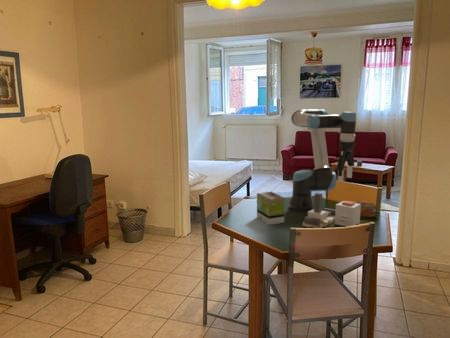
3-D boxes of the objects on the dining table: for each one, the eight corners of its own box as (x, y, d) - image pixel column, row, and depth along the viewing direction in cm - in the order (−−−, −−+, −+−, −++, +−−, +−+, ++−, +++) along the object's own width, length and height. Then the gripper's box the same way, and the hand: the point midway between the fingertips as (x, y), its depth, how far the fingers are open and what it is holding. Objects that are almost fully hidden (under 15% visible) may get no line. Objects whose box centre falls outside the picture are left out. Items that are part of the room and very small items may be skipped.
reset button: (341, 207, 211) (342, 202, 210) (345, 205, 215) (345, 200, 214) (350, 209, 208) (351, 203, 207) (354, 207, 211) (354, 202, 211)
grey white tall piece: (321, 223, 206) (322, 196, 203) (307, 220, 211) (308, 193, 208) (327, 220, 211) (328, 193, 208) (313, 217, 216) (314, 191, 213)
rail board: (319, 229, 203) (320, 220, 202) (302, 225, 209) (302, 216, 208) (339, 218, 221) (339, 210, 220) (322, 215, 227) (323, 207, 226)
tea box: (256, 217, 224) (256, 192, 221) (271, 215, 228) (271, 191, 225) (268, 225, 210) (269, 199, 208) (284, 222, 214) (285, 197, 212)
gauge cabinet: (334, 224, 212) (335, 204, 210) (342, 219, 220) (343, 200, 218) (352, 228, 205) (353, 208, 203) (359, 223, 213) (360, 203, 211)
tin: (349, 215, 228) (349, 201, 227) (349, 213, 231) (350, 199, 230) (376, 217, 223) (377, 203, 221) (376, 216, 226) (377, 202, 224)
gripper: (345, 143, 195) (343, 184, 199) (361, 139, 215) (359, 176, 219) (331, 142, 199) (329, 182, 203) (348, 138, 219) (346, 174, 223)
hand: (344, 179), depth 211 cm, fingers open, 13 cm apart
